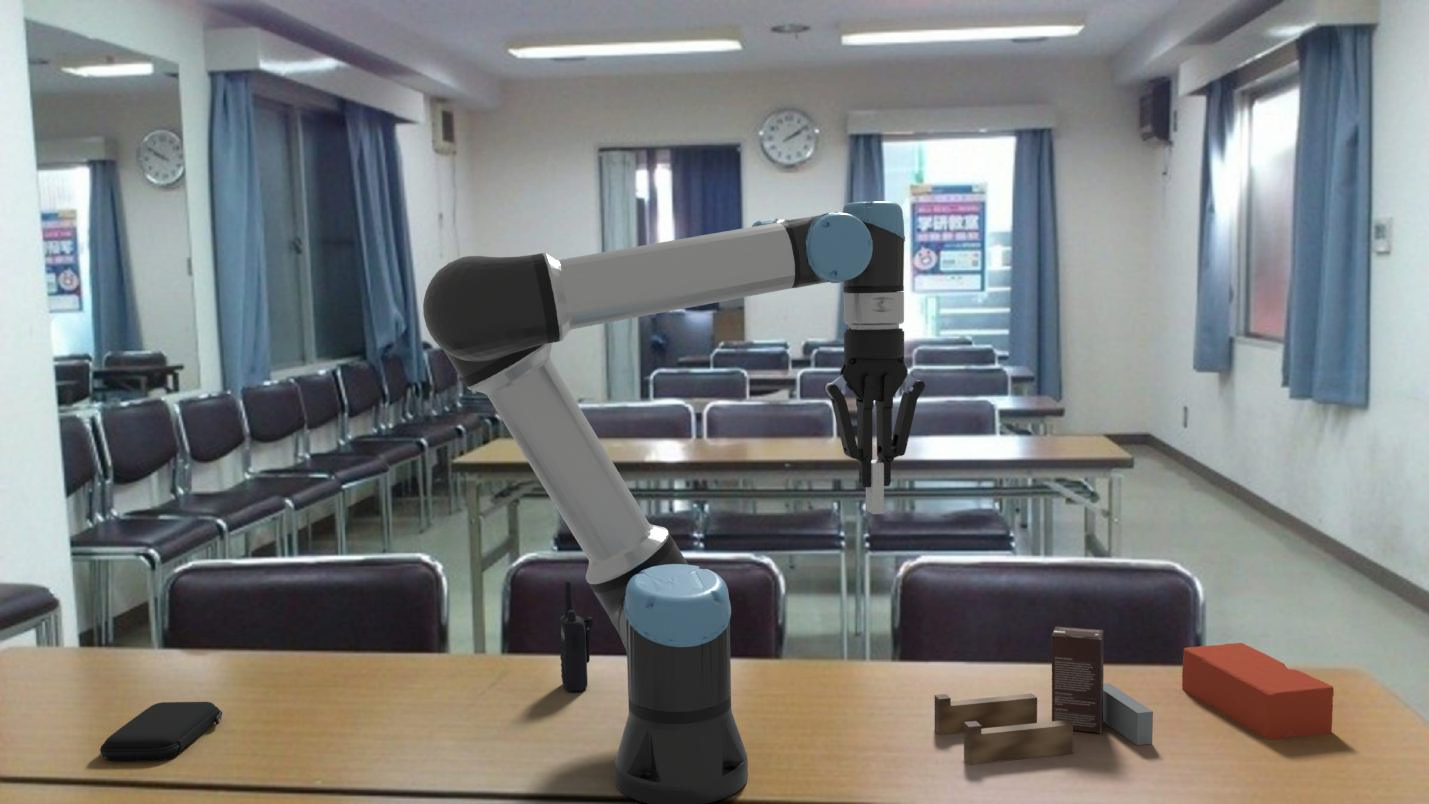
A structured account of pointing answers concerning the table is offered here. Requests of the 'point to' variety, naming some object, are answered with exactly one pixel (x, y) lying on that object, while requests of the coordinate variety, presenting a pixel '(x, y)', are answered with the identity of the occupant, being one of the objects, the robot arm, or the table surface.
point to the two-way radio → (574, 645)
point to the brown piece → (1002, 728)
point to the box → (1078, 677)
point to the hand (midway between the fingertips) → (874, 511)
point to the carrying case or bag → (160, 731)
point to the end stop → (1127, 715)
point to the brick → (1258, 690)
